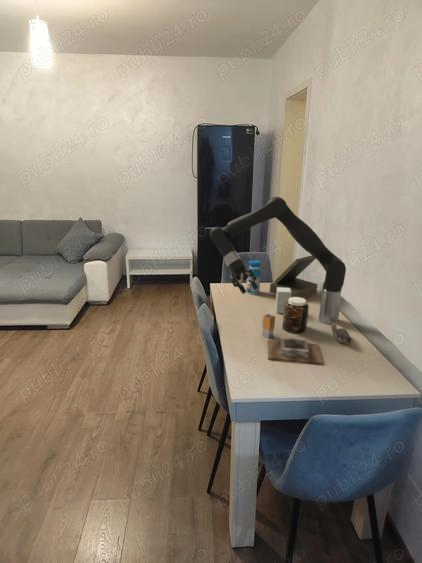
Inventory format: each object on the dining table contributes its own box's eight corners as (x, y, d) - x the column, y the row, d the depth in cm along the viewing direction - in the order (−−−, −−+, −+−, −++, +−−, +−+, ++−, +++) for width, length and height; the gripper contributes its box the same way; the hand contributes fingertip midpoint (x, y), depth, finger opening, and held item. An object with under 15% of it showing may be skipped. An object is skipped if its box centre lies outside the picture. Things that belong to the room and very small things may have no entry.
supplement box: (288, 308, 205) (290, 287, 201) (289, 314, 198) (291, 292, 194) (274, 308, 205) (276, 286, 201) (275, 313, 198) (277, 291, 194)
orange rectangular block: (260, 335, 173) (262, 315, 170) (265, 332, 175) (267, 313, 172) (269, 339, 169) (271, 319, 166) (274, 336, 172) (276, 316, 169)
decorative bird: (341, 349, 162) (343, 339, 160) (321, 325, 185) (322, 316, 184) (355, 349, 162) (357, 339, 161) (333, 325, 186) (334, 316, 184)
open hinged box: (291, 285, 245) (295, 249, 237) (317, 293, 231) (321, 255, 223) (269, 292, 230) (272, 254, 222) (295, 301, 216) (299, 260, 208)
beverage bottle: (255, 295, 223) (257, 264, 217) (243, 292, 228) (245, 261, 222) (262, 292, 230) (264, 261, 223) (250, 289, 234) (252, 258, 228)
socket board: (317, 346, 164) (318, 338, 163) (322, 364, 149) (323, 356, 148) (267, 341, 167) (268, 333, 165) (268, 359, 152) (268, 350, 150)
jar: (306, 334, 174) (310, 305, 170) (281, 332, 177) (284, 303, 172) (305, 324, 185) (309, 296, 181) (282, 322, 188) (285, 294, 183)
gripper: (228, 260, 171) (245, 290, 167) (248, 256, 180) (264, 284, 176) (219, 269, 176) (236, 298, 172) (239, 264, 186) (255, 291, 182)
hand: (250, 291), depth 174 cm, fingers open, 8 cm apart
